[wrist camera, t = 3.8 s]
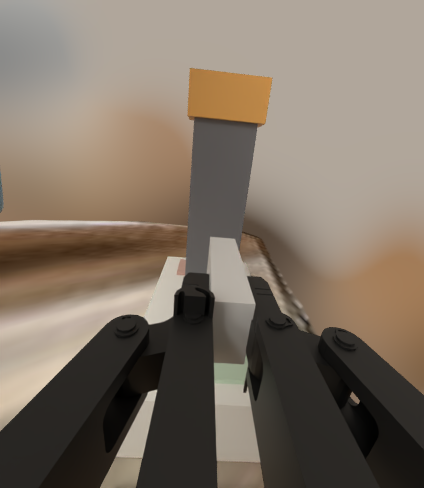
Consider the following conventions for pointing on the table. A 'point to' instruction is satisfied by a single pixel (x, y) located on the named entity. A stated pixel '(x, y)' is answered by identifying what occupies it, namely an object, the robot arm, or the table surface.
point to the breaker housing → (225, 379)
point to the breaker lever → (221, 155)
